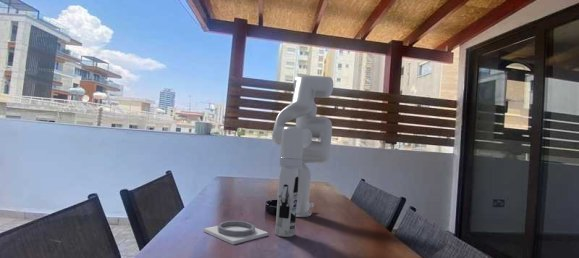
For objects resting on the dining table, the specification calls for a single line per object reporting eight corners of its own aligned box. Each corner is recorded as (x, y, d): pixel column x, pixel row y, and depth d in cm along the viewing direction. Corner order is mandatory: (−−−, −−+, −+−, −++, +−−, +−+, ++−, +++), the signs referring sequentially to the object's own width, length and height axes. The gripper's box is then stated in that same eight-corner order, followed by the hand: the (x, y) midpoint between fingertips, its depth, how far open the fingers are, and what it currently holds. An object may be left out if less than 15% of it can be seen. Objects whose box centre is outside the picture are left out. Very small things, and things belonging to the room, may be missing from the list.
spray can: (292, 238, 114) (297, 178, 114) (272, 235, 116) (277, 176, 116) (295, 233, 121) (300, 176, 121) (277, 230, 122) (281, 173, 122)
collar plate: (238, 224, 126) (238, 217, 126) (267, 235, 116) (268, 228, 116) (203, 231, 114) (204, 223, 114) (233, 244, 104) (233, 236, 104)
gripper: (284, 160, 127) (280, 208, 128) (274, 164, 110) (269, 220, 110) (305, 162, 126) (300, 211, 126) (297, 166, 109) (292, 223, 109)
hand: (286, 214), depth 118 cm, fingers open, 6 cm apart
